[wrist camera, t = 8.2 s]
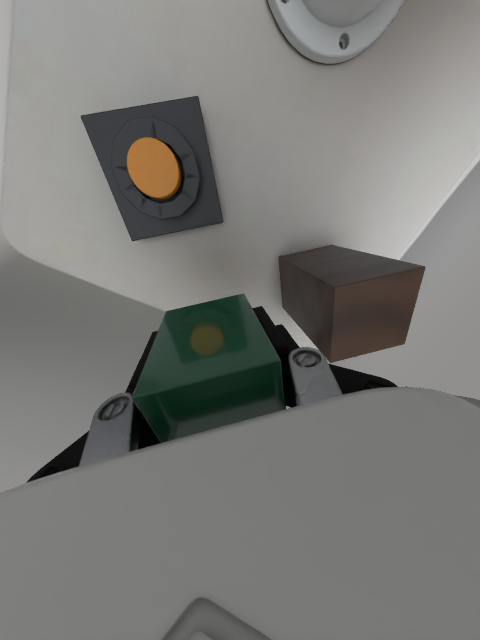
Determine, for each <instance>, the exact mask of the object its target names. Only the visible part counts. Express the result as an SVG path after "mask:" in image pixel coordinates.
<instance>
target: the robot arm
mask: <svg viewBox="0 0 480 640" xmlns="http://www.w3.org/2000/svg"><path fill="white" fill-rule="evenodd" d="M282 1H283V3H282ZM404 1H405V0H268V3H269V6H270V9H271V11H272V13H273V15H274V17H275V19H276V22H277V24H278V26H279V28H280V30H281V31H282V32H283V34H284V35H285V37H286V38H287V39H288V41H289V42H290V44H291V45H292V46H294V47H295V48H296V49H297V50H298V51H299V52H300V53H301V54H302V55H304V56H306V57H308V58H309V59H311V60H313V61H316V62H320V63H325V64H332V63H341V62H344V61H346V60H349V59H351V58H354V57H355V56H357V55H358V54H360V53H361V52H362V51H364V50H365V49H367V48H368V47H369V46H370V45H371V44H372V43H373V42H374V41H375V40H376V39H377V38H378V37H379V36H380V35H381V34H382V32H383V31H384V30H385V29H386V28H387V27H388V25H389V24H390V23H391V22H392V21H393V19H394V17H395V16H396V14H397V13H398V11H399V9H400V8H401V6H402V5H403V3H404ZM252 309H253V311H254V312H255V314H256V316H257V318H258V320H259V322H260V323H261V325H262V327H263V329H264V331H265V332H266V334H267V336H268V338H269V340H270V341H271V343H272V345H273V347H274V349H275V350H276V352H277V354H278V356H279V358H280V359H281V367H282V376H283V386H284V395H285V404H286V406H289V407H291V408H289V409H285V410H282V411H278V412H274V413H270V414H267V415H263V416H259V417H255V418H252V419H248V420H244V421H240V422H237V423H233V424H229V425H226V426H222V427H218V428H215V429H211V430H207V431H204V432H200V433H196V434H193V435H189V436H186V437H182V438H178V439H175V440H171V441H167V442H164V443H160V442H159V441H158V439H157V438H156V436H155V434H154V433H153V431H152V430H151V428H150V427H149V425H148V423H147V422H146V420H145V419H144V417H143V415H142V414H141V412H140V411H139V409H138V408H137V406H136V404H135V403H134V401H133V400H132V396H133V393H134V391H135V388H136V385H137V383H138V380H139V378H140V375H141V373H142V370H143V368H144V365H145V363H146V360H147V358H148V355H149V353H150V350H151V348H152V345H153V343H154V340H155V338H156V335H157V333H158V331H155V332H153V333H152V335H151V337H150V339H149V341H148V344H147V346H146V348H145V350H144V353H143V355H142V357H141V359H140V361H139V363H138V365H137V367H136V370H135V372H134V374H133V376H132V379H131V381H130V383H129V385H128V388H127V390H126V392H125V393H120V394H117V395H115V396H113V397H111V398H109V399H108V400H107V401H105V402H104V403H103V404H102V405H101V406H100V407H99V408H98V409H97V411H96V412H95V414H94V417H93V420H92V423H91V427H90V430H89V431H88V432H87V433H86V434H84V435H83V436H82V437H81V438H79V439H78V440H77V441H75V442H74V443H73V444H72V445H70V446H69V447H68V448H66V449H65V450H64V451H63V452H62V453H60V454H59V455H58V456H56V457H55V458H54V459H52V460H51V461H50V462H49V463H47V464H46V465H45V466H44V467H42V468H41V469H40V470H39V471H38V472H37V473H35V474H34V475H33V476H32V477H31V478H30V479H29V480H28V481H27V482H26V483H25V484H22V485H20V486H17V487H15V488H12V489H9V490H7V491H4V492H2V493H0V640H480V400H477V399H473V398H467V397H462V396H456V395H451V394H448V393H445V392H441V391H436V390H431V389H424V388H413V387H398V386H396V385H395V384H394V383H392V382H391V381H389V380H386V379H384V378H381V377H377V376H373V375H369V374H366V373H362V372H358V371H354V370H351V369H347V368H343V367H339V366H335V365H331V364H328V363H327V360H326V358H325V356H324V355H323V353H322V352H320V351H319V350H317V349H314V348H309V347H302V348H300V347H299V346H298V345H297V343H296V342H295V341H294V339H293V338H292V337H291V335H290V334H289V333H288V331H287V330H286V329H285V328H284V326H283V325H282V324H280V325H276V326H275V325H274V323H273V322H272V320H271V319H270V317H269V316H268V314H267V313H266V311H265V310H264V308H263V307H262V306H260V307H256V308H252Z"/></svg>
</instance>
